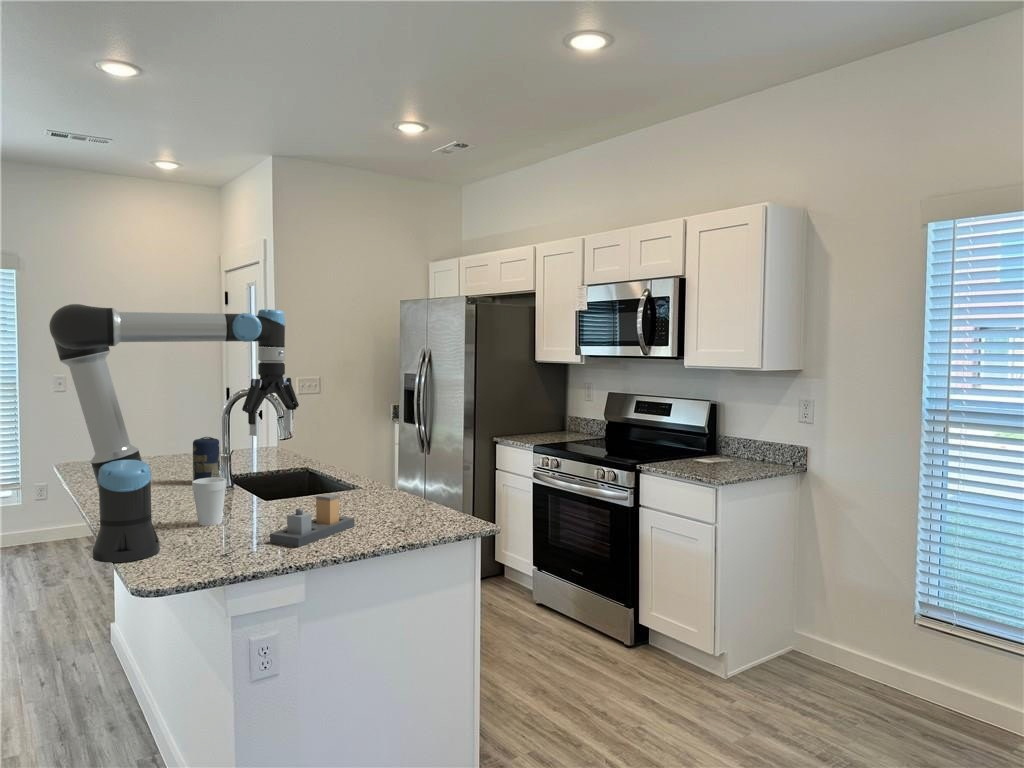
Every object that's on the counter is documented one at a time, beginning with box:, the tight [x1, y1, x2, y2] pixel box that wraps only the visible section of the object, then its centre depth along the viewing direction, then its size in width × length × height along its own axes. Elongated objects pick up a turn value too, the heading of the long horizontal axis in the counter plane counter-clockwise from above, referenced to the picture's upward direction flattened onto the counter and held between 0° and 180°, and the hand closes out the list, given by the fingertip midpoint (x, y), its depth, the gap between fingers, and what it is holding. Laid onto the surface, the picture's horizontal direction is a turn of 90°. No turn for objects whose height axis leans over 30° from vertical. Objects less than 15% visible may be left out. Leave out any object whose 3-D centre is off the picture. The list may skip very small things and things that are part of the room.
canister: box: [192, 436, 221, 481], centre depth 275 cm, size 10×10×18 cm
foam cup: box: [191, 477, 227, 527], centre depth 215 cm, size 10×9×13 cm
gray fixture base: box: [269, 508, 356, 548], centre depth 203 cm, size 24×10×8 cm, turn 155°
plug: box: [315, 493, 340, 525], centre depth 209 cm, size 4×5×10 cm
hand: (271, 433), depth 213 cm, fingers open, 13 cm apart
